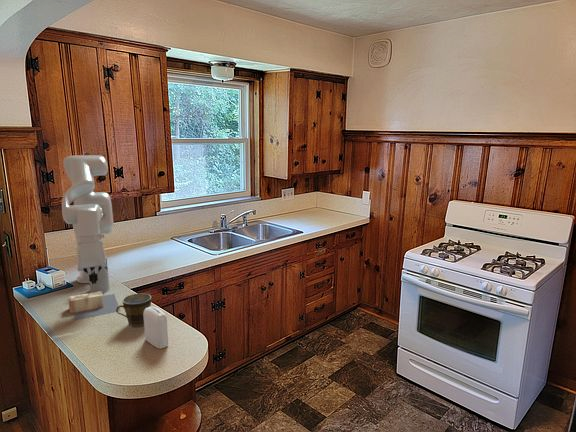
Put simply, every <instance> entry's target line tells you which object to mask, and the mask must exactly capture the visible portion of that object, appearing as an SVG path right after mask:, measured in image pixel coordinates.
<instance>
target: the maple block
mask: <svg viewBox="0 0 576 432" xmlns="http://www.w3.org/2000/svg"><path fill="white" fill-rule="evenodd" d="M103 296H104V293H102V291H100V292H94V293H90V292H89V293H83V294H78V295H77V294H76V295H70V296H67V297H68V306H69V313H70V314H74V312H79V311H85V310H90V309H95V308H100V307H104V303H103Z"/></svg>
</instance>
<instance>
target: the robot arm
mask: <svg viewBox="0 0 576 432" xmlns="http://www.w3.org/2000/svg"><path fill="white" fill-rule="evenodd" d="M63 169H64V170H65V173H66V175H67V177H68V179H69V180H70V183H71V186H70V187H69V188H68V189H67V191H66V192H65V193H64V194H63V196H62V199H61V212H62V219H63V221H64V222H65V224H67V225H72V229H73V231H74V236H75V241H76V242H75V243H76V263H77V267H76V269H77V272H79V276H78V277H76V282H77V283H80V284H90V282H92V284H94V283H95V284H96V281H98V275H97V274H98V272H99V271H100V270H101V269H102V268H105V267H107V268H108V263H107V264H106V259H107V257H106V256H107V255H106V250H105V246H104V242H103V239H104V238H105V235H107V234H111V233H113V232H114V228H115V224H114V213H113V205H112V198H111V196H110V194H109V193H108V192H105V191H101V192H99V191H98V192H95V191H94V190H95V188H96V184H95V176H105V175H107V174H108V170H109V167H108V162H107V159H106V158H105V157H104V156H103V155H100V154H99V155H98V154H97V155H96V154H95V155H89V154H88V155H83V154H82V155H81V154H80V155H79V154H78V155H77V154H76V155H68V156H66V157H64V158H63ZM72 202H73V204H74V205H73V204H71V203H72ZM90 267H94V273H92V271H91V269H90ZM93 278H94V279H93ZM89 281H90V282H89Z"/></svg>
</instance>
